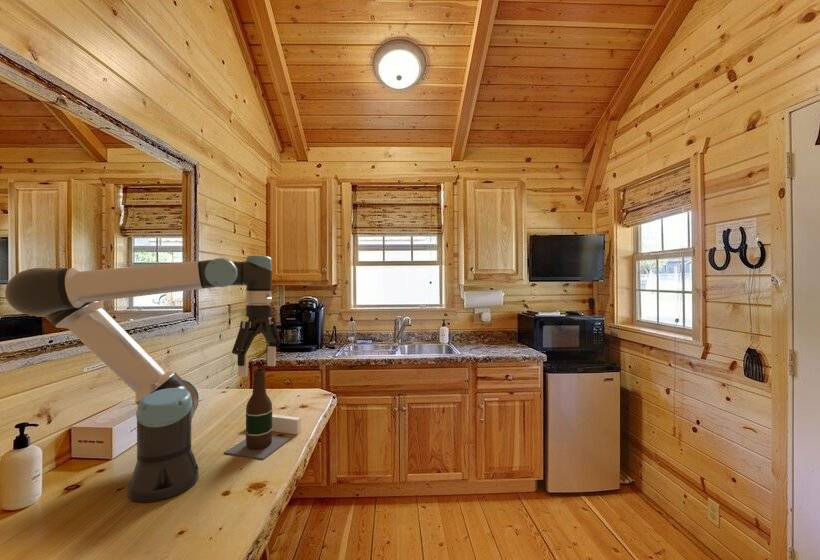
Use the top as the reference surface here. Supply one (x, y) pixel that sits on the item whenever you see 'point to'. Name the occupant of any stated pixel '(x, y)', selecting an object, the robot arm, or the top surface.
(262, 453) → the mat
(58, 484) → the top surface
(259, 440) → the beer bottle
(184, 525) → the top surface
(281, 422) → the wall
